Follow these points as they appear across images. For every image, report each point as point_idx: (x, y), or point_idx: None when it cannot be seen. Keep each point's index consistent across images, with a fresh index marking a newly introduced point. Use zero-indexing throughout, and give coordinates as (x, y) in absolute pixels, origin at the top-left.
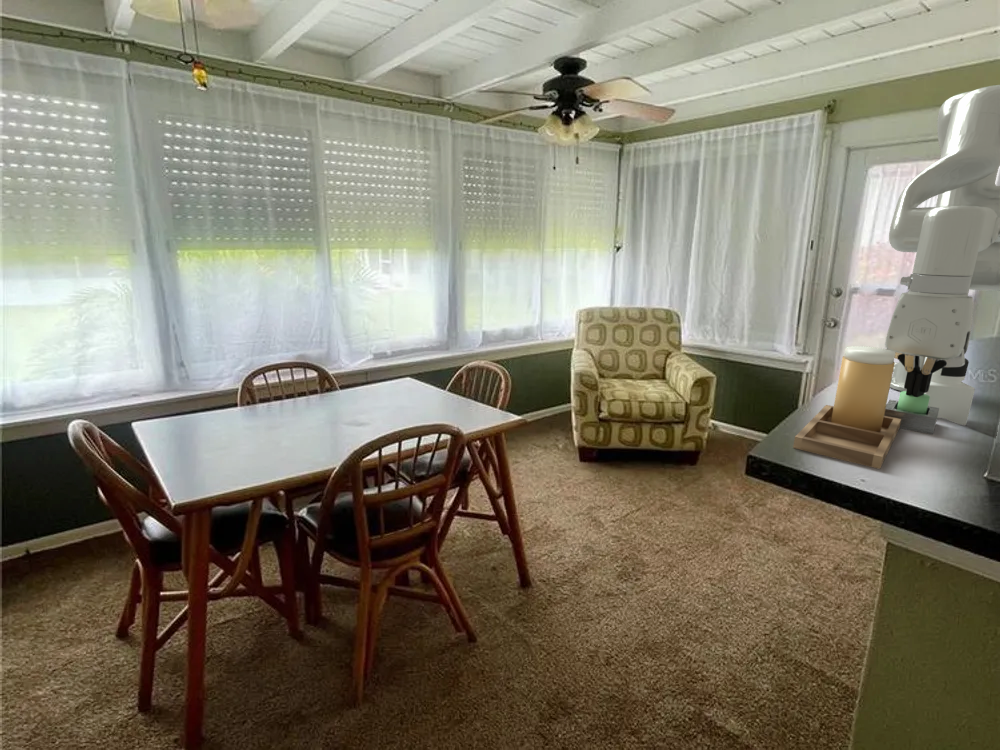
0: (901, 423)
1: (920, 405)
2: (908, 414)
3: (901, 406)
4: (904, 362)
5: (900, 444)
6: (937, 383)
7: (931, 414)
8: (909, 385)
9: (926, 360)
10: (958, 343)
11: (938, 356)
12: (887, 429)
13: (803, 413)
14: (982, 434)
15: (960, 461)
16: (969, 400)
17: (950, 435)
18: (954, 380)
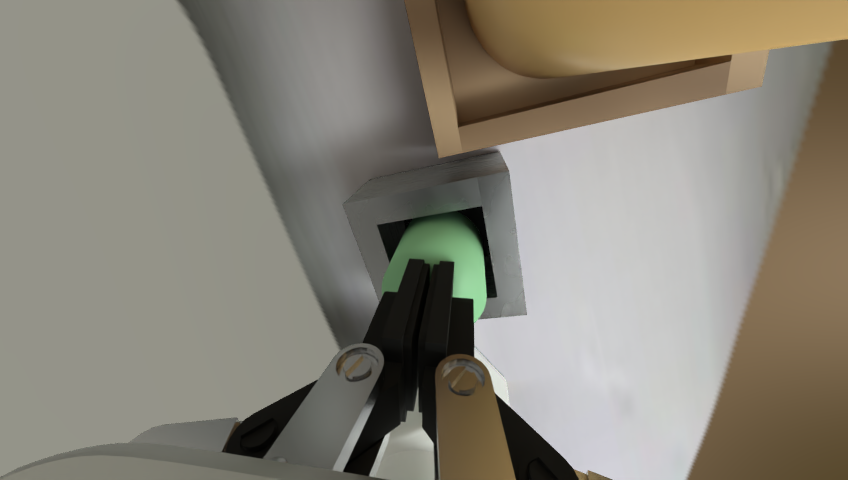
0: (442, 172)
1: (401, 246)
2: (423, 186)
3: (462, 231)
4: (510, 434)
5: (407, 55)
6: (421, 444)
7: (371, 238)
8: (442, 285)
9: (335, 450)
10: None
11: (139, 469)
12: (466, 107)
13: (796, 113)
14: (334, 326)
15: (250, 54)
16: None
17: (365, 270)
18: (380, 471)
